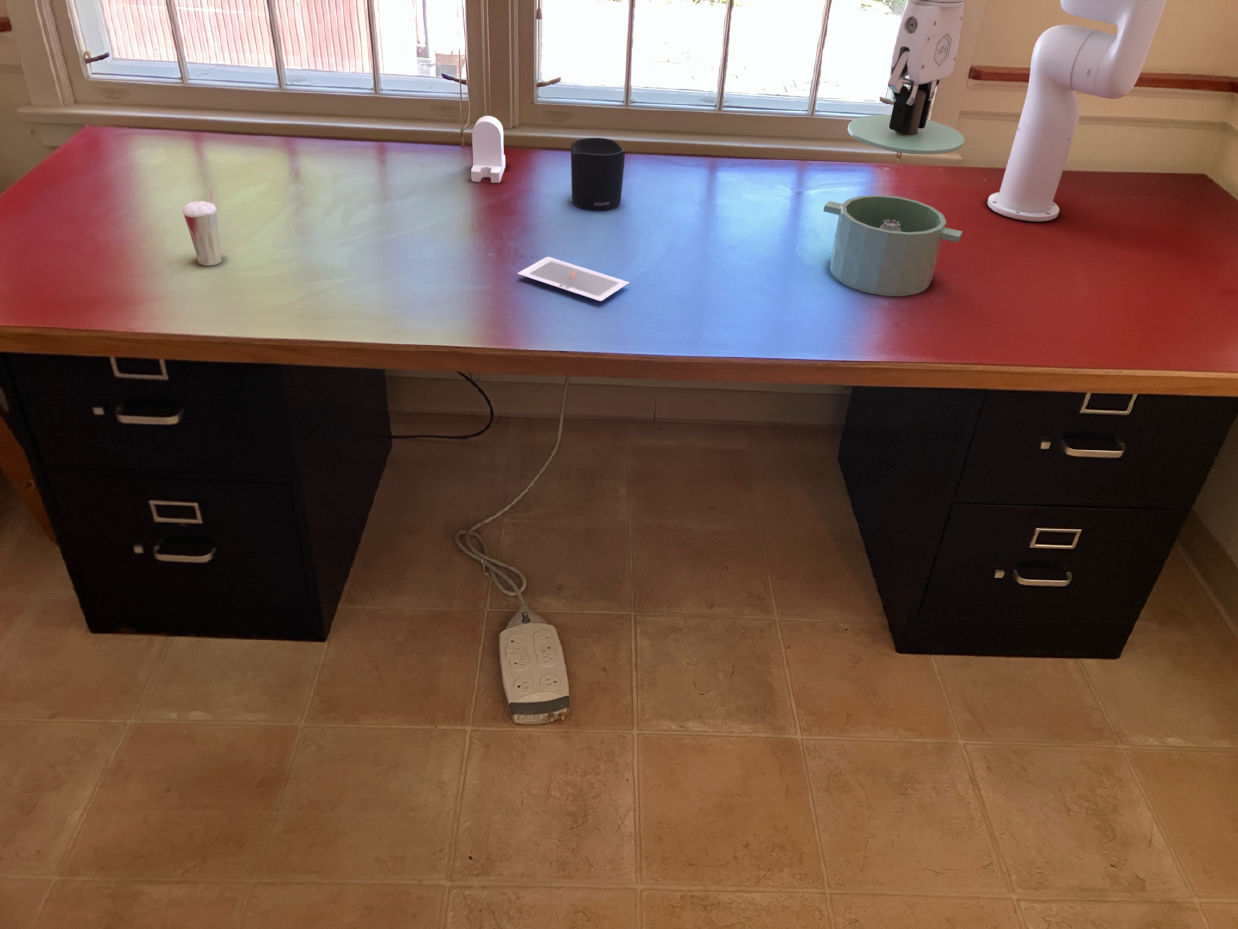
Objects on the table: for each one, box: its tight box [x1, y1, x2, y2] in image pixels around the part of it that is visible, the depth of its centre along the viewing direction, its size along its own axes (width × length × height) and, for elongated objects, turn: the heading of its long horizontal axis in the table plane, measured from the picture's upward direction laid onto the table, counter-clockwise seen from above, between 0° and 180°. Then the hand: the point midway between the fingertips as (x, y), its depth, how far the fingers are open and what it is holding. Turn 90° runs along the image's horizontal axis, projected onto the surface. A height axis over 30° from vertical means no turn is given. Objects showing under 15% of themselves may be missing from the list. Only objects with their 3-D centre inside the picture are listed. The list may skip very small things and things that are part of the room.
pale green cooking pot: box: [823, 194, 963, 297], centre depth 151 cm, size 16×21×10 cm
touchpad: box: [516, 256, 630, 302], centre depth 145 cm, size 8×15×2 cm, turn 58°
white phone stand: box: [470, 115, 506, 184], centre depth 179 cm, size 5×10×10 cm, turn 179°
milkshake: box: [181, 189, 222, 267], centre depth 143 cm, size 4×5×10 cm
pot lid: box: [847, 88, 966, 155], centre depth 140 cm, size 17×17×7 cm
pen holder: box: [570, 137, 626, 212], centre depth 170 cm, size 9×9×10 cm
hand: (906, 127), depth 141 cm, fingers closed on pot lid, 3 cm apart
